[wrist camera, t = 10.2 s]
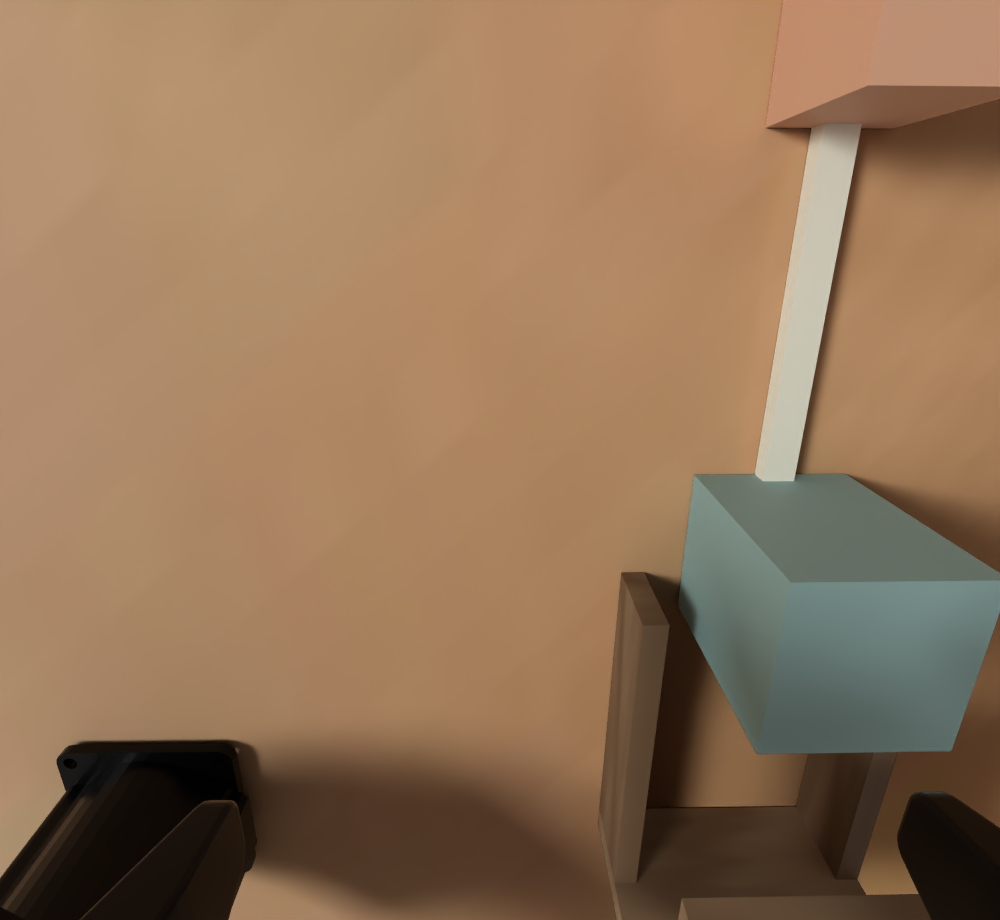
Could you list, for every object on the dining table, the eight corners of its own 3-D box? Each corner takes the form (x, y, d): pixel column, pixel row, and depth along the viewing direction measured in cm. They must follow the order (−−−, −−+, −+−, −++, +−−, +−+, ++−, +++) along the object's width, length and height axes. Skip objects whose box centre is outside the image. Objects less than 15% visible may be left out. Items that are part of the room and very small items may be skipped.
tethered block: (677, 605, 21) (756, 754, 15) (757, -34, 15) (955, -234, 8) (816, 603, 21) (951, 750, 15) (957, -31, 15) (1293, -226, 9)
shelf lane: (598, 823, 25) (657, 1127, 16) (621, 572, 20) (716, 805, 12) (810, 820, 25) (979, 1118, 16) (876, 571, 21) (1147, 799, 12)
